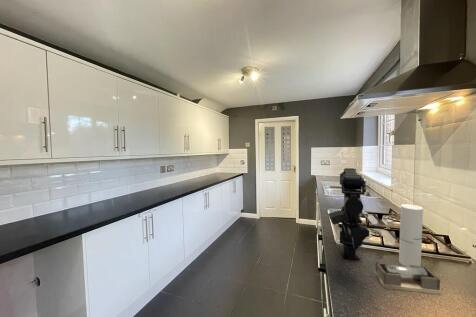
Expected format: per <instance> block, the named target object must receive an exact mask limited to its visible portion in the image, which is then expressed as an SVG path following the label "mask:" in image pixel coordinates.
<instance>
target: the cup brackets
mask: <svg viewBox="0 0 476 317" xmlns="http://www.w3.org/2000/svg"><path fill="white" fill-rule="evenodd" d="M385 265H392V263H391V262H390V263H388V262H387V263H386V262H378V261H376V262H375V271H376V273H377V274H378V276H379V277H380V278H381V280H382V281H383V283H384V284H387V285H396V286H401V275H400V274H393V273H386V272H385V270H384V266H385ZM410 267H416V268H424V269H425V270H426V272H427V275H428V277H423V276H421V278H420V280H416V279H414V280H415V281H416V282H417V284H418V285H419V286H420V287H421V288H423V289H432V290H440V291H441V289H440V288H441V279H440V278H439V277H438V276H436V275H435V274H434V273H433V272H432V271H431V270H430V269H429V268H427V266H422V265H421V266H412V265H410Z"/></svg>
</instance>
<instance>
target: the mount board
mask: <svg viewBox="0 0 476 317" xmlns="http://www.w3.org/2000/svg"><path fill="white" fill-rule="evenodd" d="M374 275H375V276H376V277H377V279H378V281H379V282H380V283H381V285H382V287H383V288H384V289H389V290H390V289H391V290H399V291H406V292H414V293H415V292H417V293H425V294H434V295H441V294H442V293H441V292H442V291H441V289H440V290H432V289H423V288H421V287H420V286H419V285H418V284H417V282H416V281H415V280H414V279H406V278H401V286H396V285H387V284H384V283H383V281H382V280H381V278H380V277H379V276H378V274H377V273H376V270H374Z"/></svg>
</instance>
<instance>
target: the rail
mask: <svg viewBox="0 0 476 317" xmlns="http://www.w3.org/2000/svg"><path fill="white" fill-rule="evenodd" d="M384 270H385V272H386V273H393V274H400V275H401V278H406V279H416V280H420V278H421V276H423V277H428V275H427V272H426V270H425V269H424V268H416V267H406V266H404V265H393V264H391V265H385V266H384Z"/></svg>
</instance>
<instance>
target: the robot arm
mask: <svg viewBox="0 0 476 317" xmlns="http://www.w3.org/2000/svg"><path fill="white" fill-rule="evenodd" d="M339 185H340V186H341V189H340V190H341V194H343V205H342V206H341V210H335V211H333V212H332V211H331V212H329V213H328V214H327V215H328V217H329V220H330V222H331V223H332V225H338V224H342V225H341V230H339V244H342V250H340V252H339V253H340V254H341V256H342V259H344V260H350V261H351V260H353V261H360V258H359V256H358V254H357V251H358V250H359V248H361V246H363V241H364V240H365V239H366V238H369V237H370V230H369V229H368V228H367V227H366V226H365V225H363V220H362V219H361V214H363V210H364V203H363V201H362V199H361V195H363V196H365V193H366V192H367V185H366V180H365V178H364V177H363V176H362V175H361V174H359V173H357V169H356V168H353V167H352V168H350V167H348V168H347V167H346V168H344V169H343V171H342V172H341V173H340V174H339Z"/></svg>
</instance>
